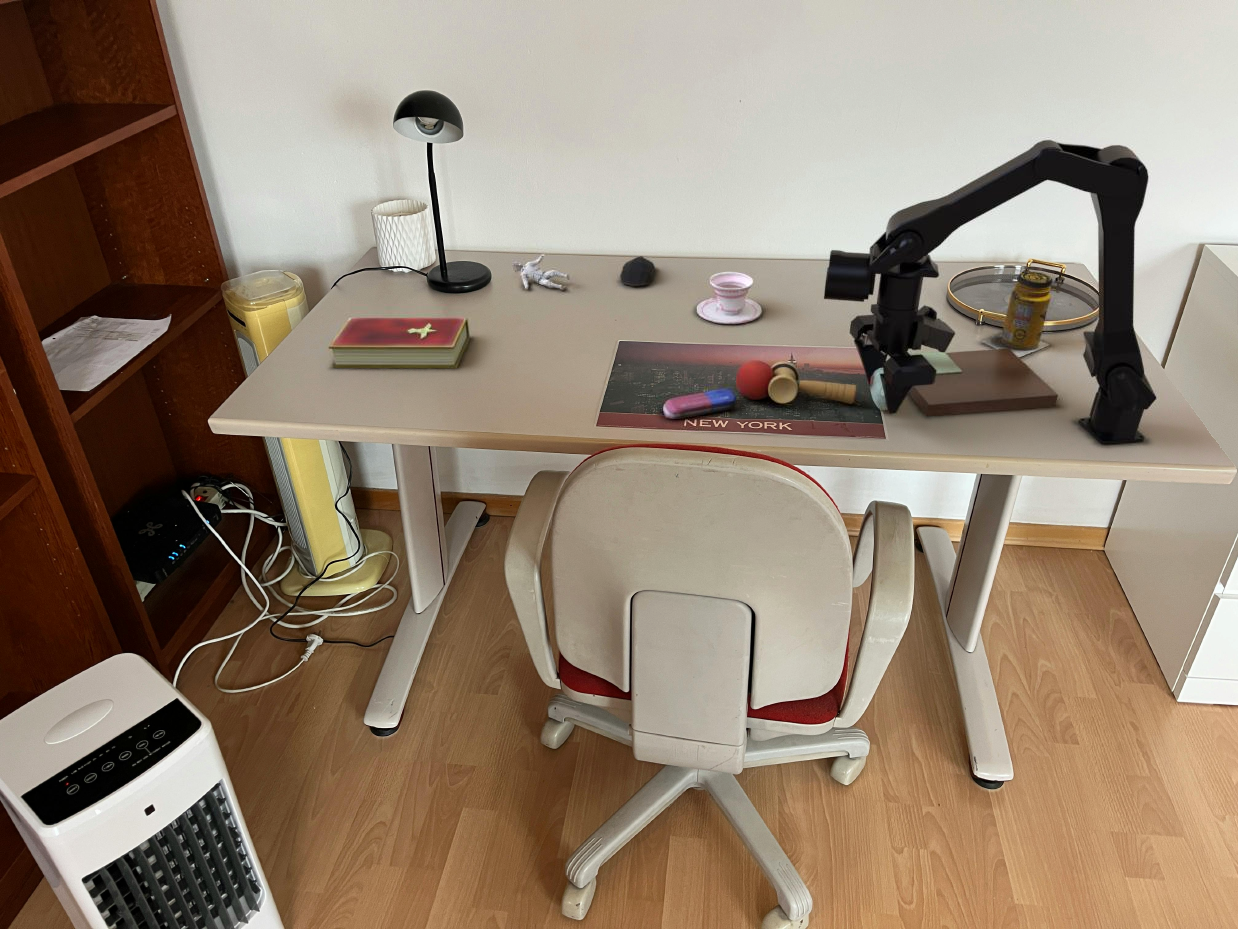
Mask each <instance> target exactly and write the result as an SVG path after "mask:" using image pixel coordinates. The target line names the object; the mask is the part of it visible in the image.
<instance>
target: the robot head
mask: <svg viewBox="0 0 1238 929" xmlns="http://www.w3.org/2000/svg"><path fill="white" fill-rule="evenodd" d="M882 373H884V371H883V368H879V369H878V370H876V371H875V372H874V374H873V375H872V377H871V380H870V386H869V388H870V387H871V388H870V394H871V399H872V400H873V402H874V404H875V406H876V407H877V408H878V409H879V410H880V411H888V409H887V405H886V401H885V396H884V391H883V387H882V382H881V378H880V374H882Z"/></svg>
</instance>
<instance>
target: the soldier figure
mask: <svg viewBox="0 0 1238 929" xmlns="http://www.w3.org/2000/svg"><path fill="white" fill-rule="evenodd" d="M545 256H547V255H546V254H541V255H539V257H538V258H537V259H535V260H532V261H528V262H526V264H524V265H523V262H522V261H521V262H520V261H514V262H513V265H512V268H513V271H514V273H516V274H518V272H520V277H521V279H522V282H523V286H524V288H525V289H526V290H529V280H530V281H531V282H535V283H537V284H538V285H542V286H544V287H548V288H549V289H552V288H553V289H560V290H562V291H564V290H565V286H564V285H562V284H557V283H554V282H553V281H551V280H550V279H552V278H554V277H557V278H564V279H566V280H567V281H569V280H570V279H571V277H570V274H568V273H566V274H565V273H562V272H560V271H558V270H557V269H552V270H548V271H544V270H542V269H540V267H539V266H537V265H540V263H541V262H542V261H543V259H544V257H545ZM528 279H529V280H528Z"/></svg>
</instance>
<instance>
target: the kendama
mask: <svg viewBox="0 0 1238 929" xmlns="http://www.w3.org/2000/svg"><path fill="white" fill-rule="evenodd" d="M735 387H736V389H737V392H738V393H740V394H741V395H742V396H743V397H744V398H746V399H750V400H754V401H755V400H762V399H764V398H768V397H770V398H771V400H772V401H774V402H775V403H777V404H789V403H791V402H792V401H794V400H795V398H796V397H797V395H798V392H801V393H805V394H808V395H811V396H815V397H821V398H824V399H827V400H829V399H830V400H833V401H837V402H842V403H845V404H849V405H853V404H854V401H855V398H856V394H857V385H856V384H848V383H838V382H829V381H828V382H827V381H820V380H803V379H800V374H799V370H798V368H797V367H796V365H795V364H794V363H792V362H790V361H786V360H781V361H778V362H776V363H774V364H772V365H771V366H770V364H768V363H767V362H765V361H762V360H755V359H754V360H749V361H746V362H745V363H743V364H742V365H741V366H740V367H739V368H738V371H737V372H736V376H735Z"/></svg>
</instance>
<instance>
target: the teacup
mask: <svg viewBox="0 0 1238 929" xmlns="http://www.w3.org/2000/svg"><path fill="white" fill-rule="evenodd" d="M709 283H710V284H709V285H710V286H711V288H712V289H713V293H714V294H715V296H714V297H710V298H707V299H704V300H703V301H701V302H699V303H698V305H697V306H696V313H697V314H698V316H699V317H701V318H702V319H704V320H706V321H709V322H712V323H717V324H723V325H725V324H726V325H736V324H745V323H748V322H751V321H754V320H756V319H758V318H759V317H760V316H761V315H762V312H763V311H762V307H761V305H760V304H759V303H757V302H756V301H754V300H752V299H749V298H746V297H747V294H748V292H749V290H750V289H751V288H752V287H753V285H754V279H753V278H752V277H751V276H749V275H748V274H745V273H741V272H738V271H737V272H736V271H722V272H717V273H714V274H712V275H711V276H710V278H709Z"/></svg>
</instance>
